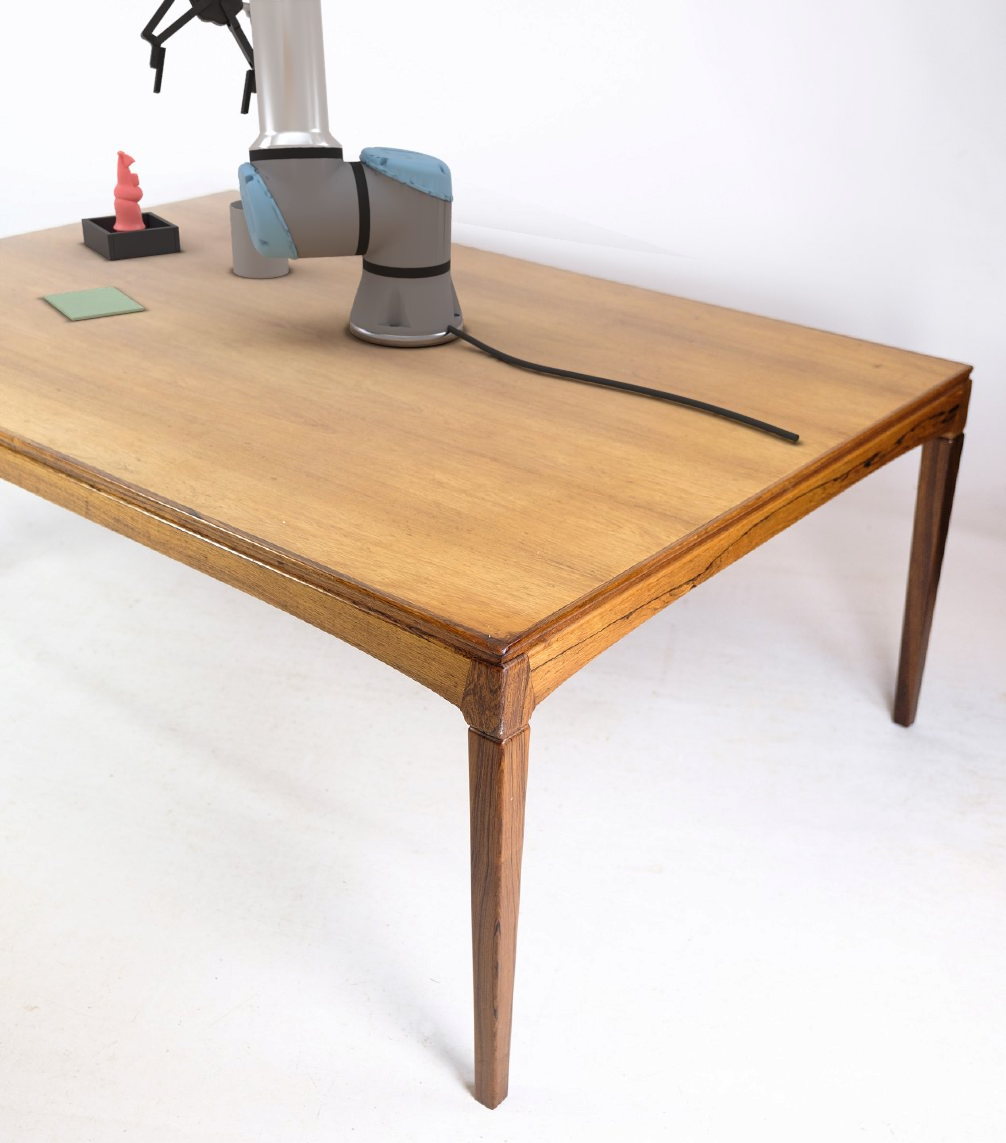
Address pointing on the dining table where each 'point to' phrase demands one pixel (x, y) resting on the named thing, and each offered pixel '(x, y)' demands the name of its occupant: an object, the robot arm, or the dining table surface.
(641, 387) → the robot arm
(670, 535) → the dining table surface
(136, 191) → the figurine
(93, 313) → the mat
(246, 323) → the dining table surface
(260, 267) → the cup
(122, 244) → the box
